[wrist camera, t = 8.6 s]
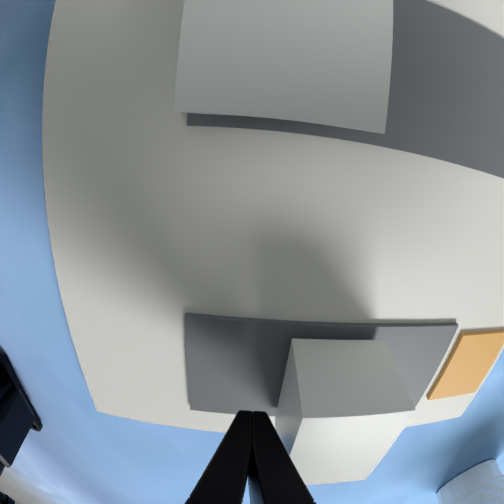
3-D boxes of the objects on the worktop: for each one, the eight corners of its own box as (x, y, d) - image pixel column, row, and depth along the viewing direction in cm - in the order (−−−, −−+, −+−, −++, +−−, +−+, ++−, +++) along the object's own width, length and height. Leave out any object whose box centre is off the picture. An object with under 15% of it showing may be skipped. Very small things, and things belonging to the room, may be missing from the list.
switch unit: (103, 396, 13) (96, 414, 12) (144, -174, 2) (138, -185, 1) (453, 403, 13) (461, 419, 12) (516, -95, 2) (528, -101, 1)
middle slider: (205, 114, 7) (173, 112, 4) (221, -35, 5) (204, -101, 2) (335, 126, 7) (384, 133, 4) (346, -21, 5) (388, -77, 3)
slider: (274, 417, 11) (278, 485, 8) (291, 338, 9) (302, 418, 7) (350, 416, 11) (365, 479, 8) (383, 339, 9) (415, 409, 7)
